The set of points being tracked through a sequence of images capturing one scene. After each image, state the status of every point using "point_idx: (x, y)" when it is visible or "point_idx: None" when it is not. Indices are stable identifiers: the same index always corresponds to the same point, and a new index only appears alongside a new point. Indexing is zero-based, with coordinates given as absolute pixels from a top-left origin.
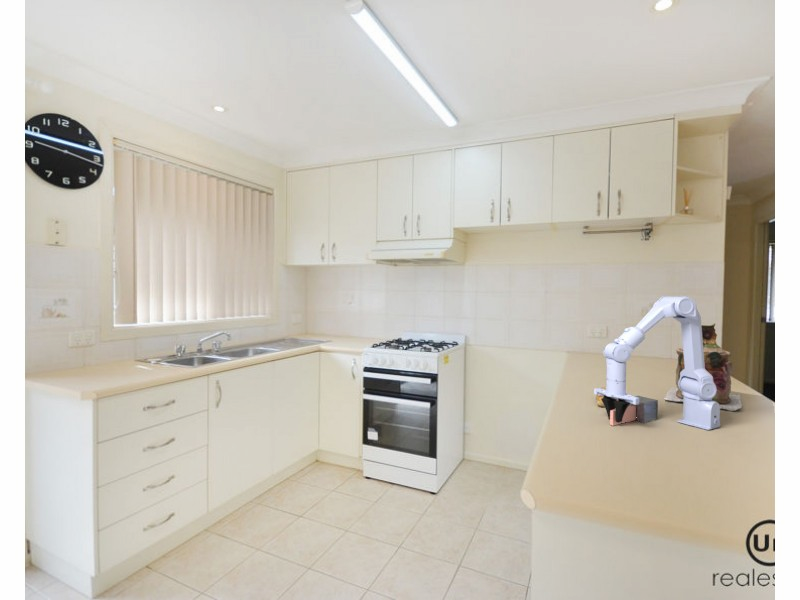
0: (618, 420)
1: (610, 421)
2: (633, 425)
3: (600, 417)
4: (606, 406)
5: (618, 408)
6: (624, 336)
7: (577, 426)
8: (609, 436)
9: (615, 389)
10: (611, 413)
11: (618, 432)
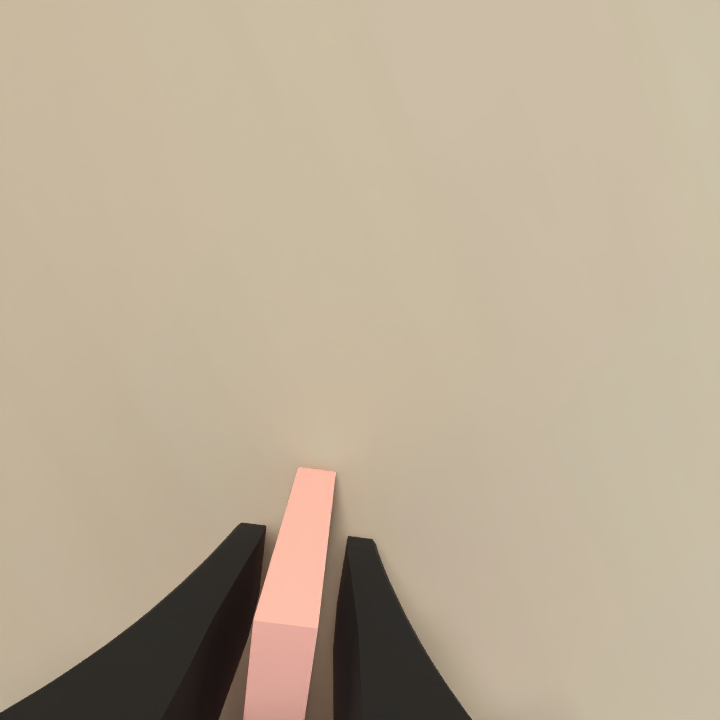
0: (226, 543)
1: (325, 494)
2: None
3: (538, 645)
4: (412, 701)
5: (77, 696)
6: None
7: (600, 52)
8: (99, 14)
9: None
10: (297, 579)
11: (137, 298)
